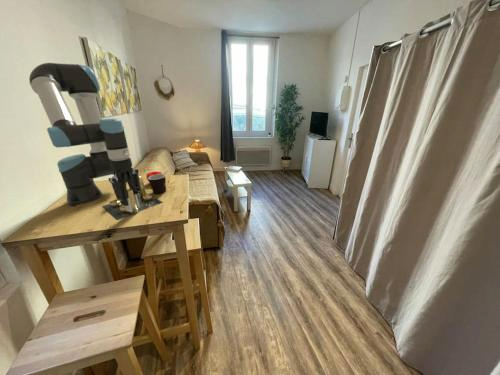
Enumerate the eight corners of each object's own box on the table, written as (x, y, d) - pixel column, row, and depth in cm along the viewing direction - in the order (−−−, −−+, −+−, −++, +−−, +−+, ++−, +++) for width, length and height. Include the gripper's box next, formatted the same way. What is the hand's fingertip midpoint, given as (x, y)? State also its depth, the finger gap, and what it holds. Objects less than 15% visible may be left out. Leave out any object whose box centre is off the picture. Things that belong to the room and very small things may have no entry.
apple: (163, 181, 135) (161, 169, 132) (164, 185, 127) (162, 173, 124) (148, 183, 132) (145, 171, 128) (148, 188, 124) (145, 176, 121)
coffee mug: (162, 197, 112) (159, 180, 108) (148, 196, 114) (144, 179, 110) (174, 188, 123) (171, 172, 119) (161, 188, 124) (157, 172, 120)
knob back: (116, 207, 100) (110, 186, 96) (108, 206, 101) (101, 185, 96) (130, 198, 108) (124, 178, 104) (122, 198, 109) (116, 178, 105)
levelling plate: (102, 208, 102) (100, 202, 101) (145, 194, 117) (143, 188, 115) (117, 222, 90) (115, 215, 89) (163, 204, 105) (162, 198, 103)
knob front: (118, 211, 96) (111, 189, 92) (127, 207, 100) (121, 185, 96) (132, 215, 93) (126, 192, 88) (141, 210, 96) (135, 188, 92)
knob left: (154, 198, 108) (149, 178, 104) (145, 201, 105) (140, 181, 101) (145, 193, 114) (141, 174, 109) (137, 196, 110) (132, 177, 106)
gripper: (109, 164, 77) (125, 219, 86) (142, 154, 92) (152, 202, 101) (94, 163, 79) (110, 217, 88) (128, 153, 94) (140, 200, 103)
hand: (133, 209), depth 95 cm, fingers open, 3 cm apart
